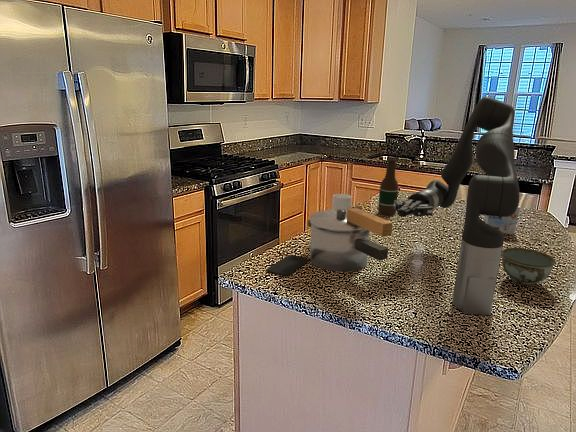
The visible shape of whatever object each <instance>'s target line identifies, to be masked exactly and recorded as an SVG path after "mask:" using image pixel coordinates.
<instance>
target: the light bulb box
mask: <svg viewBox="0 0 576 432" xmlns="http://www.w3.org/2000/svg"><path fill="white" fill-rule="evenodd" d="M519 213H520V207H519V206H518V208H517V210H516V212H515V213H514V214H513V215H511V216H509V217H498V216H489V215H484V220H483V221H484V222H485V223H487V224H488V225H490V226H492V227H495V228H497V229H499V230H500V231H502V232H503V234H507V235H508V234H509V235H515V232H516V228H517V222H518V217H519V215H520V214H519Z"/></svg>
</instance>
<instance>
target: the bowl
mask: <svg viewBox="0 0 576 432" xmlns="http://www.w3.org/2000/svg"><path fill="white" fill-rule="evenodd" d="M501 264H502V268H503V270H504V272H505V273H506V274H507V276H509V277H510V279H511V281H512V282H513V283H514V284H517V285H520V286H524V287H532V286H535V285H536V284H538V283H540V282H542V281H544V280H547V278H548V277H549V275H550V274H551V273H552V271H553V267H554V265H555V264H556V259H555V258H554V257H552V256H551V255H549V254H548V253H545V252H542V251H539V250H535V249H530V248H527V247H526V248H525V247H506V248H503V249H502V254H501Z"/></svg>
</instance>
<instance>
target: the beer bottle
mask: <svg viewBox="0 0 576 432" xmlns="http://www.w3.org/2000/svg"><path fill="white" fill-rule="evenodd" d="M386 161H387V165H386V171H385V175H384V178H383V179H382V180H381V182H380V186H379V194H378V205H377V206H378V207H377V212H378V214H379V215H382V216H385V217H386V216H387V217H388V216H389V217H390V216H392V217H393V216H394V215H396V214H397V211H396V210H395V209H394V200H398V197H399V182H398V180H397V178H396V162H397V159H395V158H388V159H387V160H386Z"/></svg>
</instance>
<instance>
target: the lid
mask: <svg viewBox="0 0 576 432" xmlns="http://www.w3.org/2000/svg"><path fill="white" fill-rule="evenodd" d="M309 218H310V219H309V220H310V223H311V225H312V226H314V227H316V228H318V229H321V230H325V231H329V232H336V233H357V232H363V231H366V230H368V231H370V233H373V234H375V235H377V236H378V237H382V238H384V237H389V236H392V234H393V222H392V221H389V220H387V219H385V218H382V217H380V216H377V215H375V214H372V213H370V212H368V211H365V210H363V209H362V210H361V209H358V208H354V207H351V208H350V209H347V210H342V209H339V210H332V209H325V210H324V209H323V210H319V211H315V212H313V213H312V214H310V217H309Z"/></svg>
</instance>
